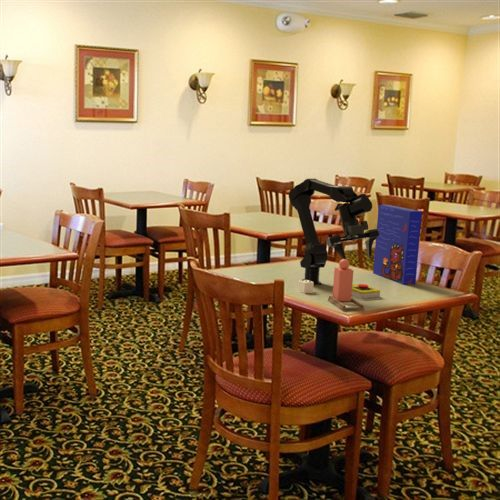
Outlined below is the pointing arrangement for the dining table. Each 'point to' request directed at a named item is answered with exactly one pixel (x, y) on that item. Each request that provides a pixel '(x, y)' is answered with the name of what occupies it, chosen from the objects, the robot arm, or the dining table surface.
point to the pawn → (343, 281)
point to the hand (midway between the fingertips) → (357, 260)
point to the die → (305, 286)
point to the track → (346, 304)
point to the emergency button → (365, 292)
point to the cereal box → (397, 244)
